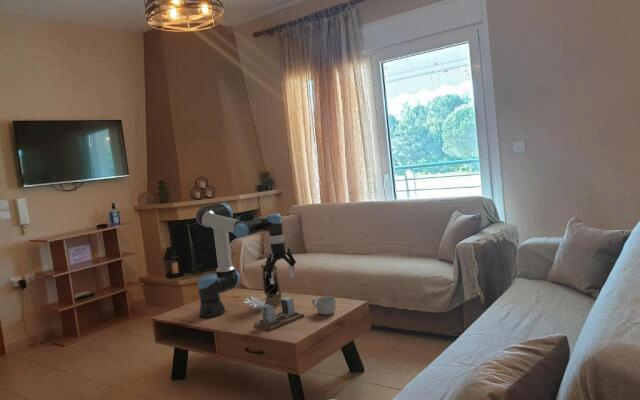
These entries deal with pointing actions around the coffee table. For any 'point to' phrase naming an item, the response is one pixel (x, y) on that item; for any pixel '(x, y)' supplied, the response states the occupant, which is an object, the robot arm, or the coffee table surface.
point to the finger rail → (275, 318)
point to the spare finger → (287, 306)
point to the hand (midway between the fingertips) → (282, 280)
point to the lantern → (272, 288)
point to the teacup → (325, 305)
